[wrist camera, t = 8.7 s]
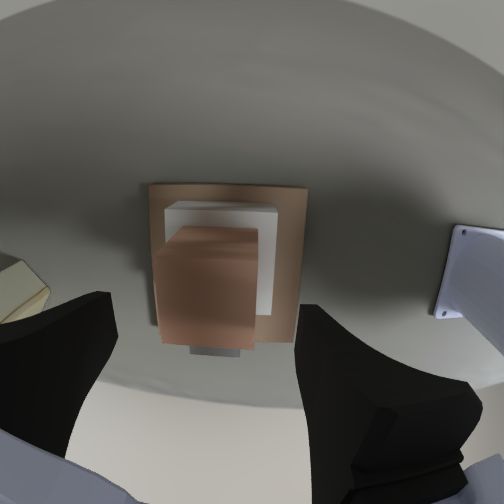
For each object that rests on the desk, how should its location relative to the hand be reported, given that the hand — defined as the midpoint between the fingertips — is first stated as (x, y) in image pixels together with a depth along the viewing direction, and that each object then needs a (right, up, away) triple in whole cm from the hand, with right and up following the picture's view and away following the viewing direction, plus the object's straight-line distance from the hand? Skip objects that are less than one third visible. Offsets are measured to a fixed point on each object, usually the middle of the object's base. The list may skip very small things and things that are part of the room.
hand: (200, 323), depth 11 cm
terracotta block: (0, +2, +6) cm, 6 cm away
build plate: (0, +2, +10) cm, 10 cm away
